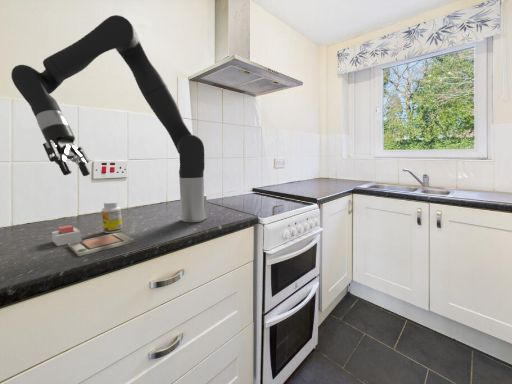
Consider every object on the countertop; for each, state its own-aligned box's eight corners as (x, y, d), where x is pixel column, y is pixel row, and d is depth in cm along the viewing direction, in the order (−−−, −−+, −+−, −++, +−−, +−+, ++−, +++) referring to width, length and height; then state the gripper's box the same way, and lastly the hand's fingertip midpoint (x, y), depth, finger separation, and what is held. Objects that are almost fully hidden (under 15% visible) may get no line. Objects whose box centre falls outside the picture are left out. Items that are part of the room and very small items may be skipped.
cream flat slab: (119, 234, 83) (119, 231, 83) (134, 242, 76) (133, 239, 76) (68, 246, 72) (67, 243, 72) (79, 256, 65) (78, 252, 65)
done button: (71, 232, 79) (70, 224, 78) (73, 234, 77) (72, 226, 76) (59, 235, 76) (58, 227, 76) (61, 237, 74) (60, 228, 74)
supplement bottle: (103, 230, 87) (101, 201, 86) (122, 228, 90) (119, 200, 89) (104, 234, 83) (101, 204, 81) (123, 232, 86) (120, 202, 84)
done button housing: (76, 236, 81) (75, 227, 81) (81, 240, 77) (80, 231, 77) (52, 241, 77) (51, 232, 76) (57, 246, 73) (56, 236, 72)
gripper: (47, 117, 73) (72, 168, 74) (81, 128, 87) (102, 170, 88) (24, 128, 73) (49, 179, 74) (62, 137, 87) (82, 180, 88)
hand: (78, 174), depth 81 cm, fingers open, 8 cm apart
